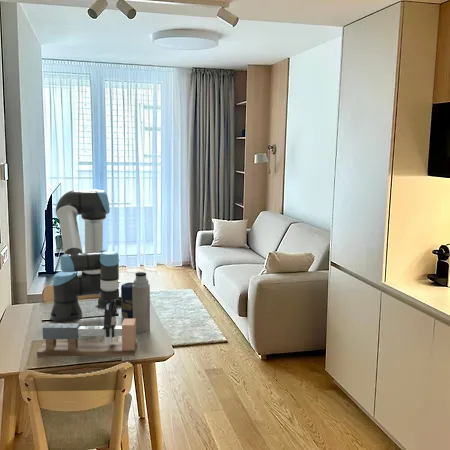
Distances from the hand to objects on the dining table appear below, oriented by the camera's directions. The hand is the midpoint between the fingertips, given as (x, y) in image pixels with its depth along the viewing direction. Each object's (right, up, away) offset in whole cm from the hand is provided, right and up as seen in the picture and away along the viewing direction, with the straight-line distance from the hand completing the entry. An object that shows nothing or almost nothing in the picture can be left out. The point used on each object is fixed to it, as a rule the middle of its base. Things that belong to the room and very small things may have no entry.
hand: (110, 337), depth 217 cm
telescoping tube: (-6, +1, -1) cm, 6 cm away
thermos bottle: (+9, -3, +24) cm, 26 cm away
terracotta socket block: (+8, -4, +1) cm, 9 cm away
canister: (+1, +1, +43) cm, 43 cm away
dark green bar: (-14, +4, +59) cm, 60 cm away
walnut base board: (-9, -6, 0) cm, 11 cm away
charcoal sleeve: (-20, 0, -2) cm, 20 cm away
